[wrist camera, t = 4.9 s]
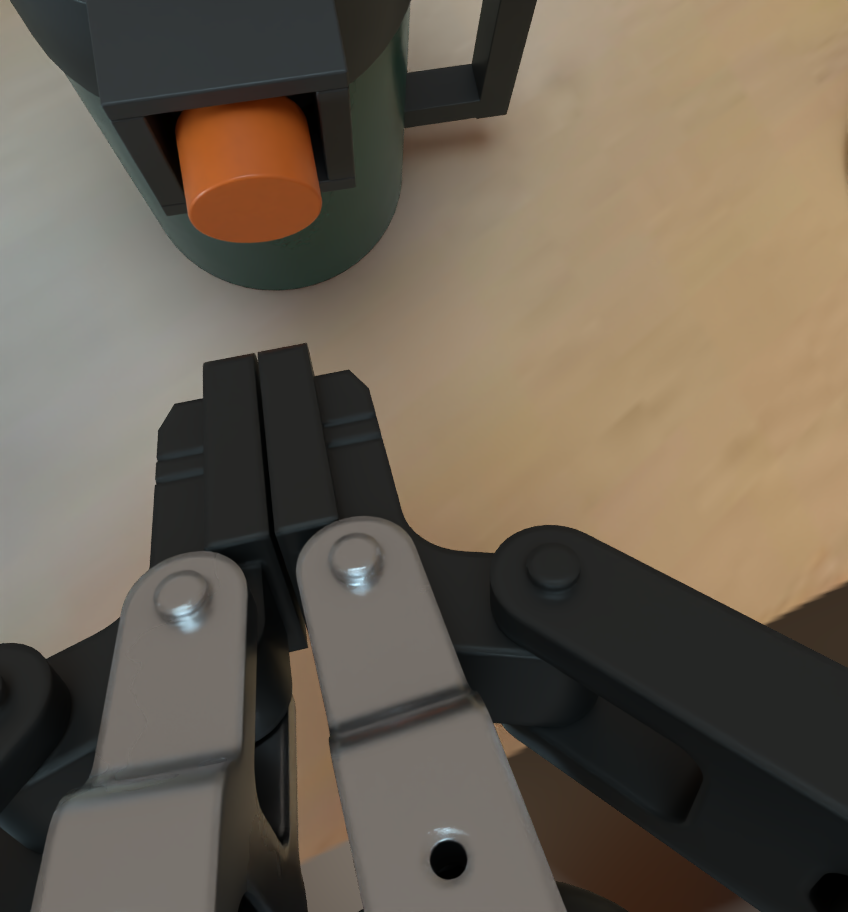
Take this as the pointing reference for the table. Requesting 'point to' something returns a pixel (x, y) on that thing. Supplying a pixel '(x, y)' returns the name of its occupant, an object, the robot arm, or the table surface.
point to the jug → (267, 76)
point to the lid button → (248, 170)
